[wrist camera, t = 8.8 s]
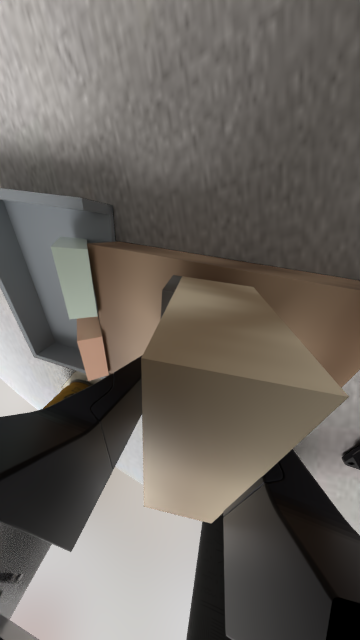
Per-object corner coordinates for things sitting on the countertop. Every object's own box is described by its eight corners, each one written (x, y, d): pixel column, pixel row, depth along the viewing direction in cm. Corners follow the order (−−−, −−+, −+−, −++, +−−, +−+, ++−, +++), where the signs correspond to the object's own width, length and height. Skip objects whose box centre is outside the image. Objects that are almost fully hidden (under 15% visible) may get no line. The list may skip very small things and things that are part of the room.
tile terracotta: (102, 336, 11) (77, 341, 10) (108, 374, 13) (88, 381, 12) (96, 310, 14) (76, 313, 13) (102, 345, 16) (85, 349, 15)
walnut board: (367, 281, 8) (427, 302, 6) (283, 394, 14) (297, 431, 11) (119, 241, 11) (86, 243, 8) (126, 350, 16) (108, 372, 13)
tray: (112, 205, 10) (81, 197, 8) (125, 363, 17) (111, 381, 15) (1, 191, 11) (-51, 182, 9) (56, 342, 18) (33, 357, 16)
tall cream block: (253, 287, 6) (348, 397, 2) (208, 409, 11) (211, 523, 7) (173, 274, 7) (116, 353, 2) (161, 399, 11) (135, 504, 7)
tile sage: (87, 249, 8) (50, 246, 7) (97, 316, 10) (69, 319, 9) (86, 239, 11) (60, 236, 10) (94, 292, 13) (73, 293, 12)
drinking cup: (252, 488, 23) (323, 1156, 6) (201, 473, 25) (153, 955, 8) (260, 465, 20) (460, 1798, 3) (200, 450, 22) (114, 1197, 5)
